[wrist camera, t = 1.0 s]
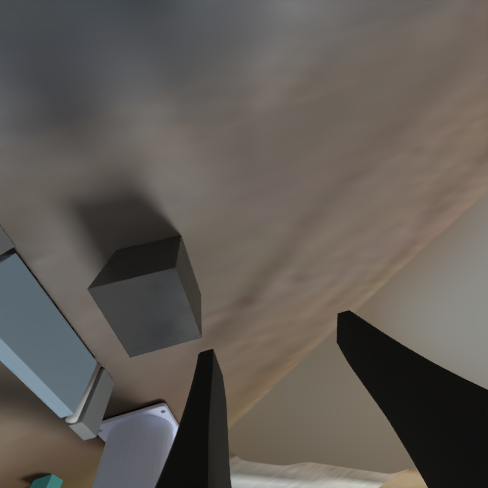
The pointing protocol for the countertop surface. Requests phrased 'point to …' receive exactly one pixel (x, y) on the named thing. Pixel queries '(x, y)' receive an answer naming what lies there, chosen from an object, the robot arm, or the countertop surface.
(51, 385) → the pale blue stick
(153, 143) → the countertop surface
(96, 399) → the grey long flat piece
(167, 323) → the block
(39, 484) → the teal pixel art cutout
